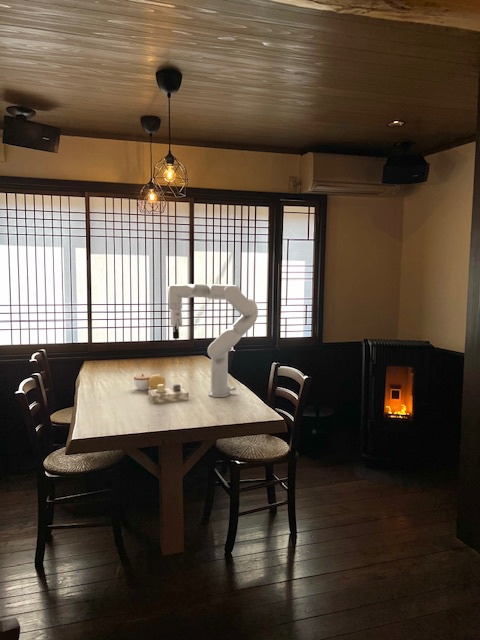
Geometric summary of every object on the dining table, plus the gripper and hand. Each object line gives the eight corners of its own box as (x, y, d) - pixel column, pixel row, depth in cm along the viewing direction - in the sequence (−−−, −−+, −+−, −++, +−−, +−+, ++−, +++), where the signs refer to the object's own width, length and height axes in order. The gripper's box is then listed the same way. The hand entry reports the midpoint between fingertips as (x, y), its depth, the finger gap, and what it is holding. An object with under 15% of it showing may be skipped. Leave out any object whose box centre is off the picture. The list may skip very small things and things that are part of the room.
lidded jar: (130, 390, 280) (130, 375, 279) (138, 386, 290) (138, 371, 289) (147, 391, 277) (147, 376, 276) (155, 387, 288) (154, 372, 287)
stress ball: (146, 393, 277) (152, 385, 270) (145, 378, 282) (150, 370, 275) (163, 394, 281) (168, 386, 274) (161, 379, 287) (167, 371, 280)
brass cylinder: (164, 397, 264) (163, 383, 263) (165, 399, 260) (165, 385, 259) (156, 398, 263) (156, 384, 262) (158, 400, 259) (157, 386, 258)
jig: (183, 393, 272) (182, 381, 271) (188, 399, 260) (188, 387, 259) (148, 397, 265) (148, 384, 265) (152, 403, 253) (151, 390, 253)
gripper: (184, 307, 262) (185, 340, 264) (178, 305, 276) (179, 336, 278) (171, 307, 260) (172, 340, 262) (166, 305, 274) (166, 337, 276)
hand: (176, 338), depth 270 cm, fingers closed
